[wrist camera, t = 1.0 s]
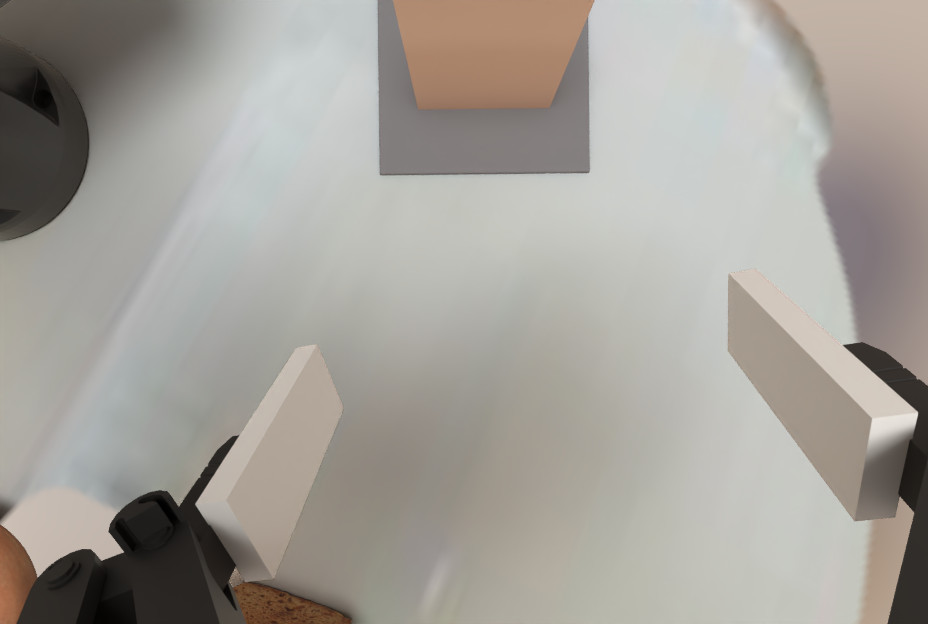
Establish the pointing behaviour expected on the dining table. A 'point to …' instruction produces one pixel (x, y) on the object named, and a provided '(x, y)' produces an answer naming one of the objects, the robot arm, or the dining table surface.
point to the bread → (282, 607)
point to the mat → (478, 122)
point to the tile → (488, 50)
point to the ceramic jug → (13, 577)
